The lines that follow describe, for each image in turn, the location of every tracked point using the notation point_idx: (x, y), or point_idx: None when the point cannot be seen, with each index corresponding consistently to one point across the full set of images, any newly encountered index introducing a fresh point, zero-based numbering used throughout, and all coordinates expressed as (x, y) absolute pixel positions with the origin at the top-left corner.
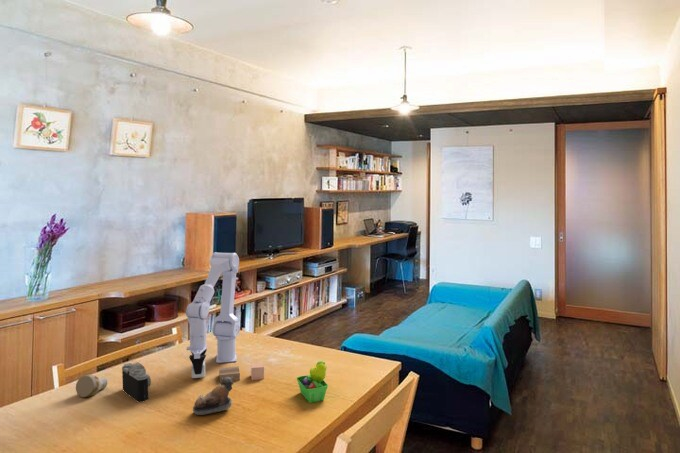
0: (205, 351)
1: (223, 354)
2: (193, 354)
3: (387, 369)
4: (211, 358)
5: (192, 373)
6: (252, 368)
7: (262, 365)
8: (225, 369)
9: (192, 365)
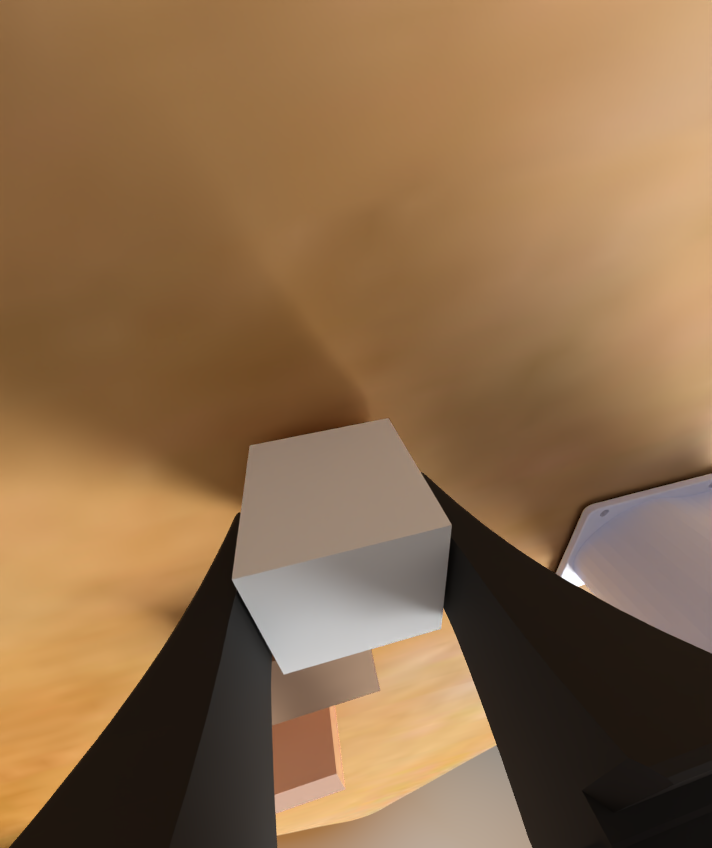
0: (522, 811)
1: (627, 587)
2: (546, 680)
3: (328, 823)
4: (703, 446)
5: (247, 490)
6: None
7: (300, 803)
8: (330, 666)
9: (264, 579)
